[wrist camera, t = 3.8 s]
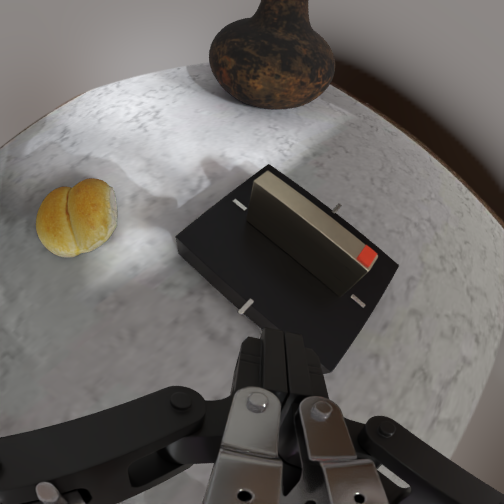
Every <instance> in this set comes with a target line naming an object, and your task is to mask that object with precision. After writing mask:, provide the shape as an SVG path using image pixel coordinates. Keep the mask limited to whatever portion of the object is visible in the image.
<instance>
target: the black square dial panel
mask: <svg viewBox="0 0 504 504" xmlns="http://www.w3.org/2000/svg"><path fill="white" fill-rule="evenodd" d="M266 171H269V172H271V173H272V174H274V175H275V176H276V177H278V178H279V179H281V180H282V181H283V182H285V183H286V184H288V185H289V186H290V187H292V188H293V189H294V190H296V191H297V192H298V193H300V194H301V195H302V196H304V197H305V198H307V199H308V200H309V201H310V202H312V203H313V204H314V205H316V206H317V207H318V208H320V209H321V210H322V211H324V212H325V213H326V214H327V215H329V216H330V217H331V218H333V219H334V220H335V221H336V222H338V223H339V224H340V225H341V226H343V227H344V228H345V229H346V230H348V231H349V232H350V233H351V234H353V235H354V236H355V237H356V238H358V239H359V240H360V241H361V242H362V243H364V244H365V245H367V246H369V247H370V248H371V249H372V250H373V251H375V252H376V253H377V255H378V258H377V259H376V261H375V263H374V264H373V266H372V267H371V269H370V270H369V272H368V273H366V274H365V275H364V276H363V277H362V278H361V279H360V280H359V281H358V282H357V283H355V284H354V285H353V286H352V287H351V288H350V289H349V290H348V291H346V292H345V293H344V294H343V295H342V296H341V297H339V296H338V295H337V294H336V293H334V292H333V291H332V290H331V289H330V288H328V287H327V286H326V285H325V284H324V283H322V282H321V281H320V280H319V279H318V278H316V277H315V276H314V275H313V274H312V273H310V272H309V271H308V270H307V269H306V268H304V267H303V266H302V265H301V264H299V263H298V262H297V261H296V260H295V259H293V258H292V257H291V256H290V255H289V254H287V253H286V252H285V251H284V250H282V249H281V248H280V247H279V246H277V245H276V244H275V243H274V242H273V241H271V240H270V239H269V238H268V237H266V236H265V235H264V234H263V233H261V232H260V231H259V230H258V229H256V228H255V227H254V226H253V225H252V224H250V223H249V222H248V221H247V220H246V218H247V213H248V208H249V203H250V198H251V193H252V188H253V183H254V180H256V179H257V178H258V177H260V176H261V175H262V174H264V173H265V172H266ZM341 206H342V205H340V204H338V205H337V206H336V207H335V208H334V209H333V210H331V209H330V208H328V207H327V206H326V205H325V204H323V203H322V202H321V201H319V200H318V199H317V198H315V197H314V196H313V195H311V194H310V193H309V192H307V191H306V190H305V189H303V188H302V187H300V186H299V185H298V184H296V183H295V182H294V181H292V180H291V179H289V178H288V177H287V176H285V175H284V174H282V173H281V172H280V171H278V170H277V169H275V168H274V167H272V166H271V165H270V164H268V165H267V166H265V167H264V168H262V169H261V170H260V171H258V172H257V173H256V174H254V175H253V176H252V177H250V178H249V179H248V180H246V181H245V182H244V183H242V184H241V185H240V186H238V187H237V188H236V189H234V190H233V191H232V192H231V193H229V194H228V195H227V196H225V197H224V198H223V199H221V200H220V201H219V202H218V203H216V204H215V205H214V206H213V207H211V208H210V209H209V210H207V211H206V212H205V213H204V214H202V215H201V216H200V217H199V218H197V219H196V220H195V221H194V222H192V223H191V224H190V225H189V226H188V227H186V228H185V229H184V230H183V231H181V232H180V233H179V234H178V235H177V236H176V242H177V247H178V252H179V254H180V255H181V256H182V257H183V258H184V259H185V260H186V261H187V262H188V263H189V264H190V265H191V266H192V267H193V268H195V269H196V270H197V271H198V272H199V273H200V274H201V275H202V276H203V277H204V278H205V279H206V280H207V281H209V282H210V283H211V284H212V285H213V286H214V287H215V288H216V289H217V290H218V291H220V292H221V293H222V294H223V295H224V296H225V297H226V298H227V299H228V300H230V301H231V302H232V303H233V304H234V305H235V306H236V307H237V308H239V309H240V310H239V311H238V313H239V314H240V315H242V314H243V313H244V314H245V315H246V316H248V317H249V318H250V319H251V320H252V321H253V322H254V323H256V324H257V325H258V326H259V327H260V328H261V329H263V328H264V327H266V328H271V329H276V330H281V331H286V332H291V333H296V334H301V335H302V337H303V342H304V347H305V348H310V349H313V351H314V352H315V353H316V354H317V356H318V357H319V359H320V363H321V368H322V372H323V374H326V373H330V372H332V371H333V370H334V368H335V367H336V366H337V364H338V363H339V361H340V360H341V359H342V357H343V356H344V354H345V353H346V351H347V350H348V349H349V347H350V346H351V344H352V343H353V341H354V340H355V338H356V337H357V335H358V334H359V332H360V331H361V329H362V328H363V326H364V324H365V323H366V321H367V320H368V318H369V317H370V315H371V313H372V312H373V310H374V308H375V307H376V305H377V304H378V302H379V300H380V299H381V297H382V295H383V293H384V292H385V290H386V288H387V287H388V285H389V283H390V281H391V280H392V278H393V276H394V274H395V272H396V270H397V269H398V267H399V265H398V264H397V263H396V262H394V261H393V260H392V259H391V258H390V257H389V256H388V255H386V254H385V253H384V252H383V251H382V250H380V249H379V248H378V247H377V246H376V245H375V244H373V243H372V242H371V241H370V240H369V239H367V238H366V237H365V236H364V235H363V234H361V233H360V232H359V231H358V230H356V229H355V228H354V227H353V226H351V225H350V224H349V223H348V222H346V221H345V220H344V219H343V218H341V217H340V216H339V215H338V214H336V212H337V211H338V210H339V208H340V207H341Z"/></svg>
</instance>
